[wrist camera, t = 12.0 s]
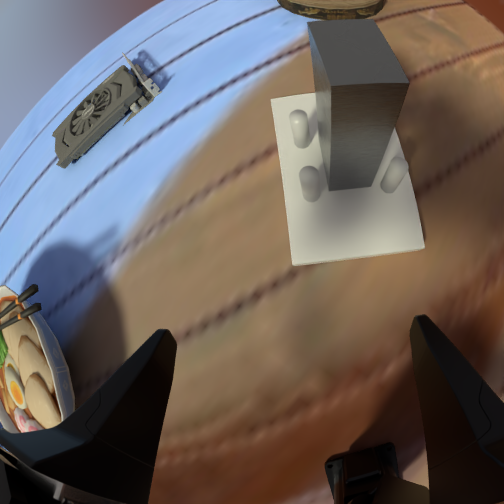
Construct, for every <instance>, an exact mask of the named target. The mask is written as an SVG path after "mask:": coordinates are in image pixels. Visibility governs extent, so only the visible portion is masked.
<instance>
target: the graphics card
mask: <svg viewBox="0 0 504 504" xmlns="http://www.w3.org/2000/svg"><path fill="white" fill-rule="evenodd" d="M122 54H123V55H124V53H122ZM124 57H125V58H126V60H127V61H128V63H129V64H130V66H131V67H132V68H131V71H132V73H133V74H134V76H135V77H136V78H137V77H138V78H139V80H138V82H139V84H140V85H141V87H142V86H143V85H144V86H143V87H142V90H141V89H140V88H139V87H138V86H137V82H136V78H135V77H134V76H133V75H131V74H129V73H128V71H129V69H128V68H127V67H126V66H125V65H123V66H121V67H119V68H118V69H117V70H116V71H115V72H114V73H112V74H111V75H110V76H109V77H108V78H107V79H105V80H104V81H103V82H102V83H101V84H100V85H99V86H98V87H97V88H96V89H94V90H93V91H92V92H91V93H90V94H89V95H88V96H87V97H86V98H85V99H84V100H83V101H82V102H81V103H80V104H79V105H78V106H77V107H76V108H75V109H74V110H73V111H72V112H71V113H70V114H69V115H68V117H67V118H66V119H65V120H64V121H63V122H62V123H61V124H60V125H59V126H58V128H57V129H56V130H55V131H54V132H53V135H52V136H53V137H55V138H56V140H55V152H56V154H57V156H58V158H59V161H58V163H57V164H56V165H58V166H60V167H62V168H66V167H67V166H68V165H69V164H70V163H71V162H72V161H73V159H78V157H79V156H82V155H83V154H84V153H85V152H86V151H87V150H88V149H89V148H90V147H91V146H93V145H94V144H95V143H96V142H97V141H98V140H99V139H100V138H101V137H102V136H103V135H104V134H105V133H106V132H107V131H108V130H109V129H111V128H112V127H113V126H114V125H115V124H116V123H117V122H118V121H119V120H121V119H122V118H123V117H124V116H125V114H124V113H125V112H126V111H127V110H128V107H129V106H130V109H131V110H132V111H133V112H132V113H131V115H130V116H129V117H128V119H127V120H126V122H128V121H129V120H130V119H131V118H132V117H134V116H135V115H136V114H137V113H138V112H140V111H141V110H142V109H143V108H145V107H146V106H147V105H148V104H150V103H151V102H152V101H153V99H154V98H155V97H156V96H157V95H158V94H160V93H161V92H162V91H160V92H158V91H159V90H160V89H159V87H158V86H157V85H156V84H155V83H154V84H151V83H152V82H153V81H152V80H151V79H150V78H149V79H148V77H147V76H146V75H145V74H143V70H142V69H141V67H140V66H139V65H138V64H135V65H133V63H132V62H131V61H130V60H129V59H128V58H127V57H126V56H125V55H124ZM139 73H140V74H139ZM142 74H143V75H142ZM151 86H153V87H154V89H151ZM142 91H143V93H144V94H145V96H143V95H142ZM141 95H142V96H141ZM138 98H139V99H138ZM150 99H152V100H150ZM135 100H137V101H138V102H139V104H138V103H137V102H136V101H135ZM93 101H94V102H93ZM90 103H91V105H89V104H90ZM88 105H89V106H88ZM126 122H125V123H126ZM125 123H124V124H125ZM66 144H68V145H69V147H68V146H67V145H66Z"/></svg>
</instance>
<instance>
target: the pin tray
mask: <svg viewBox="0 0 504 504" xmlns="http://www.w3.org/2000/svg"><path fill="white" fill-rule="evenodd" d="M271 104H272V111H273V117H274V123H275V130H276V137H277V144H278V151H279V158H280V165H281V172H282V180H283V188H284V195H285V204H286V212H287V220H288V229H289V238H290V247H291V256H292V265H293V266H299V265H308V264H317V263H325V262H333V261H341V260H350V259H358V258H366V257H373V256H381V255H389V254H396V253H404V252H411V251H419V250H422V249H424V248H425V246H424V240H423V234H422V228H421V223H420V218H419V213H418V209H417V204H416V200H415V195H414V191H413V187H412V183H411V179H410V175H409V172H408V168H409V167H408V163H407V161H406V160H405V158H404V154H403V151H402V148H401V145H400V142H399V139H398V136H397V133H396V130H395V127H394V130H393V133H392V135H391V138H390V141H389V143H388V146H387V149H386V151H385V154H384V156H383V159H382V161H381V164H380V166H379V169H378V171H377V174H376V176H375V178H374V181H373V183H372V186H371V187H364V188H355V189H346V190H337V191H329V190H328V184H327V179H326V173H325V168H324V163H323V158H322V153H321V148H320V144H319V138H318V122H317V108H316V96H315V93H309V94H301V95H294V96H287V97H281V98H275V99H271Z"/></svg>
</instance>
